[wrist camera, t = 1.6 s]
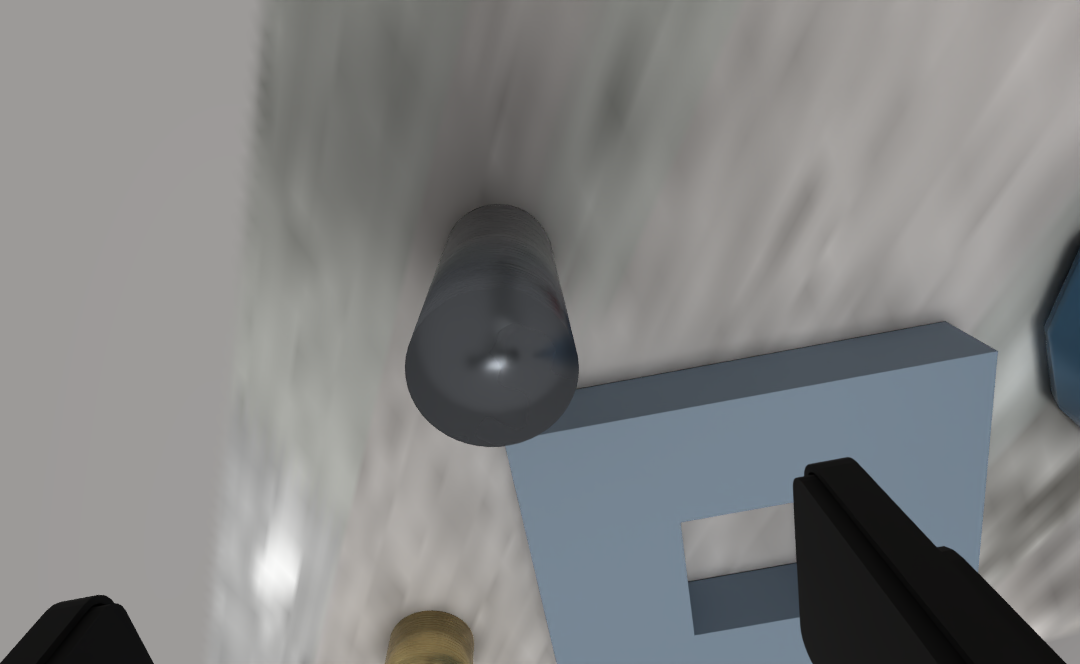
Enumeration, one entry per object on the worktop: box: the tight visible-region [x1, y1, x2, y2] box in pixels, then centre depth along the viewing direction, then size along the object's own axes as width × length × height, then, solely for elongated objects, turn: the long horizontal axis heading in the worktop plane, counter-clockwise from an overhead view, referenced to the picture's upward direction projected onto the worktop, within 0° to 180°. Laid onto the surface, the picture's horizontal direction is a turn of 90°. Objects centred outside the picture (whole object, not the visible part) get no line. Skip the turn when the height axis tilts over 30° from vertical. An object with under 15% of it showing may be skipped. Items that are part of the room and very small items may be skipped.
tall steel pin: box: [405, 204, 579, 447], centre depth 20 cm, size 4×4×10 cm
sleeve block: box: [505, 321, 998, 664], centre depth 28 cm, size 16×18×3 cm
